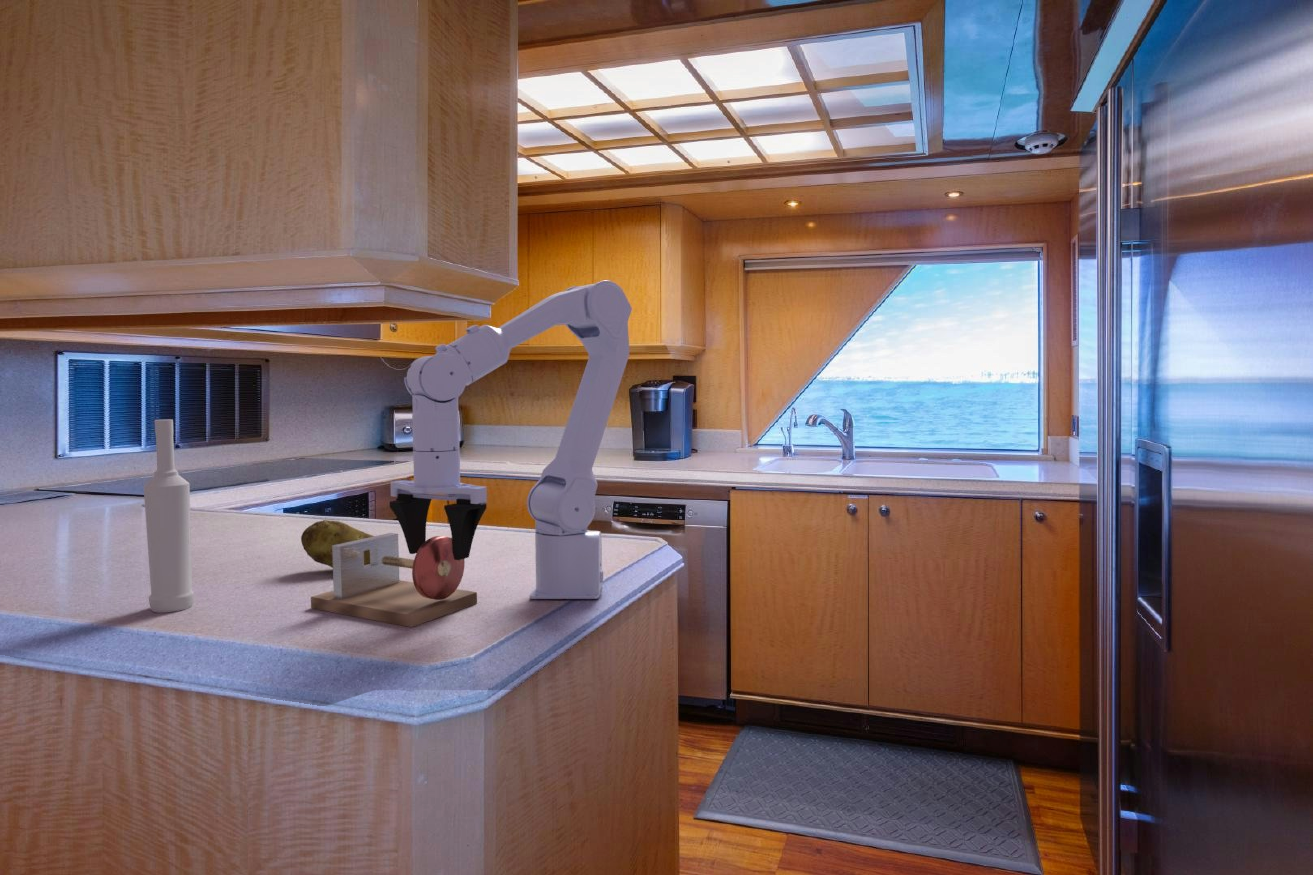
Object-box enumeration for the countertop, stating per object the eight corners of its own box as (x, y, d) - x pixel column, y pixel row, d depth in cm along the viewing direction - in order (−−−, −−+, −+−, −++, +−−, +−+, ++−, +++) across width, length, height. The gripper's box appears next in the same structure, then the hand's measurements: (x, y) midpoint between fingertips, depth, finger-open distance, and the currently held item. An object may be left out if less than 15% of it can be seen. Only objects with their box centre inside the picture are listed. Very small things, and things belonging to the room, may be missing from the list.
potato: (372, 577, 123) (370, 526, 122) (293, 575, 125) (292, 524, 124) (396, 565, 131) (395, 516, 131) (323, 563, 133) (321, 515, 132)
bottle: (185, 599, 111) (177, 418, 109) (201, 606, 107) (193, 419, 106) (143, 608, 107) (134, 420, 105) (158, 615, 103) (149, 421, 102)
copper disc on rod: (360, 596, 105) (358, 535, 104) (405, 582, 112) (404, 525, 111) (423, 607, 100) (421, 543, 99) (466, 592, 107) (465, 532, 106)
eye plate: (333, 598, 106) (332, 545, 105) (391, 581, 115) (390, 532, 114) (341, 599, 105) (340, 546, 105) (399, 582, 114) (398, 533, 113)
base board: (311, 607, 107) (310, 596, 106) (381, 587, 117) (380, 577, 117) (411, 627, 98) (411, 615, 98) (477, 603, 109) (476, 592, 109)
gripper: (371, 450, 102) (374, 555, 103) (458, 454, 95) (460, 567, 96) (412, 446, 108) (414, 545, 109) (497, 450, 102) (498, 556, 103)
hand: (438, 555), depth 103 cm, fingers open, 7 cm apart
